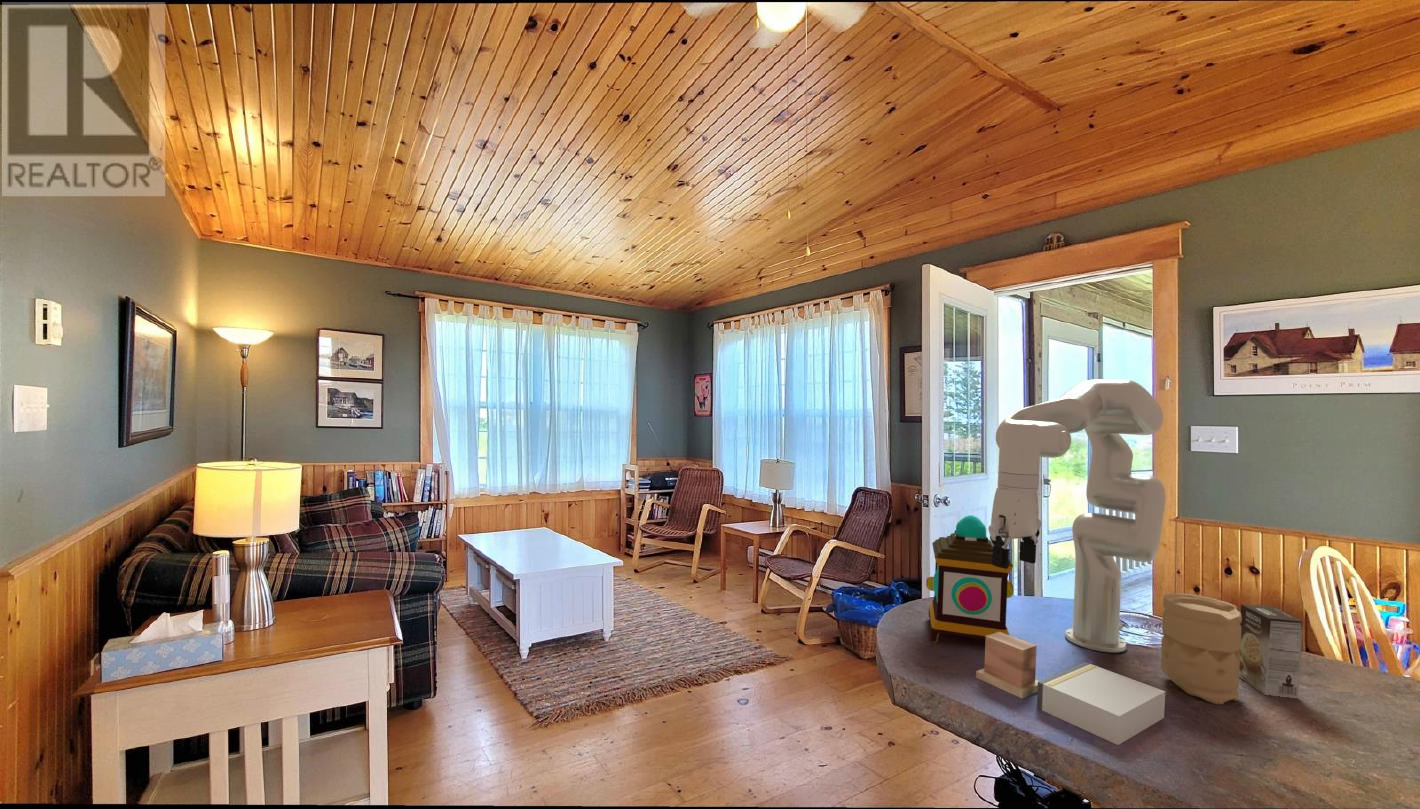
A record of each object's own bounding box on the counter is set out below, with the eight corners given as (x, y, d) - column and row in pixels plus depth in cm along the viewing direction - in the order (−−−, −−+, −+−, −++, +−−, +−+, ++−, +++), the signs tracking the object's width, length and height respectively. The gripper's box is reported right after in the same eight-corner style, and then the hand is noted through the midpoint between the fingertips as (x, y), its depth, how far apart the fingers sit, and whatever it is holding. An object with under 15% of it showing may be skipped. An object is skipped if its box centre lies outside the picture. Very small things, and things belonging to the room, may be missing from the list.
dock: (1084, 685, 124) (1085, 661, 124) (1164, 717, 113) (1165, 690, 112) (1036, 707, 115) (1037, 681, 115) (1118, 745, 103) (1119, 715, 103)
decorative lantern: (923, 616, 162) (927, 505, 162) (1004, 627, 156) (1009, 511, 155) (925, 644, 143) (930, 518, 143) (1018, 658, 137) (1023, 527, 136)
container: (1245, 693, 123) (1249, 606, 123) (1228, 711, 116) (1232, 618, 116) (1170, 670, 133) (1174, 589, 133) (1150, 685, 126) (1154, 599, 126)
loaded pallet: (997, 670, 131) (998, 628, 131) (1043, 689, 122) (1045, 645, 122) (975, 677, 127) (977, 635, 127) (1022, 698, 118) (1024, 653, 118)
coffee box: (1235, 675, 132) (1238, 602, 132) (1269, 679, 131) (1272, 605, 130) (1264, 695, 123) (1268, 617, 123) (1301, 699, 122) (1305, 620, 121)
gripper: (1023, 477, 132) (1020, 555, 132) (976, 480, 123) (972, 564, 123) (1058, 482, 126) (1054, 564, 126) (1011, 486, 116) (1007, 574, 116)
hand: (1014, 564), depth 124 cm, fingers open, 9 cm apart
